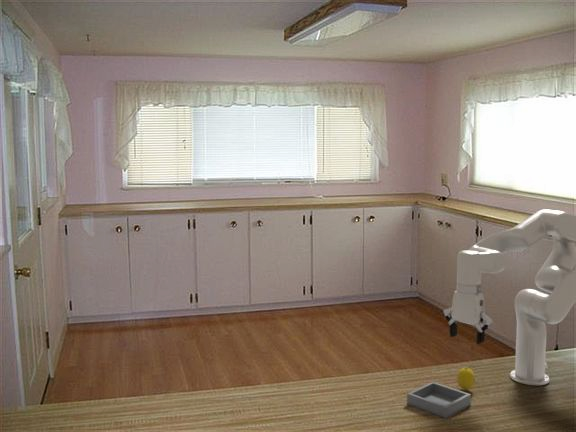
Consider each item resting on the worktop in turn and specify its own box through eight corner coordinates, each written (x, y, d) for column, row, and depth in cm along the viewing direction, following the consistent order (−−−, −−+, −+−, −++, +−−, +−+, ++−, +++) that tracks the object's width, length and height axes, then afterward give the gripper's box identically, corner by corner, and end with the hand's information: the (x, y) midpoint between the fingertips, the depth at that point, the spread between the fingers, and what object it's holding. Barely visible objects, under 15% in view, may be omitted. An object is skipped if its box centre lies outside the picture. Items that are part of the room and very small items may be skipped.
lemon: (475, 394, 189) (476, 370, 189) (457, 393, 190) (458, 369, 190) (473, 387, 195) (474, 364, 194) (456, 386, 196) (457, 363, 195)
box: (432, 391, 192) (432, 381, 191) (470, 405, 181) (470, 394, 181) (406, 404, 182) (407, 393, 182) (445, 419, 172) (446, 407, 172)
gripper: (499, 291, 185) (496, 343, 187) (451, 282, 198) (449, 331, 200) (487, 295, 180) (485, 348, 182) (438, 285, 193) (437, 335, 194)
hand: (466, 339), depth 191 cm, fingers open, 9 cm apart
